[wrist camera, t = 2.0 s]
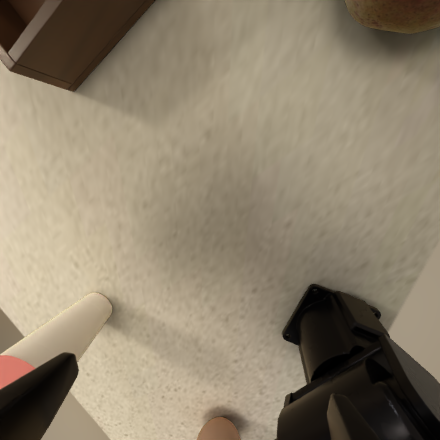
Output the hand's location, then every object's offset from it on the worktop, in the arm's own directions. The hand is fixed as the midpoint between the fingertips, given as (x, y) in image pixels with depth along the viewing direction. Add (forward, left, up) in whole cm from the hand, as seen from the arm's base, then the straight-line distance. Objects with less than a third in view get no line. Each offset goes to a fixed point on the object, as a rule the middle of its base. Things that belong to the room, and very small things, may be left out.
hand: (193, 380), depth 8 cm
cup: (-13, +11, -14) cm, 22 cm away
